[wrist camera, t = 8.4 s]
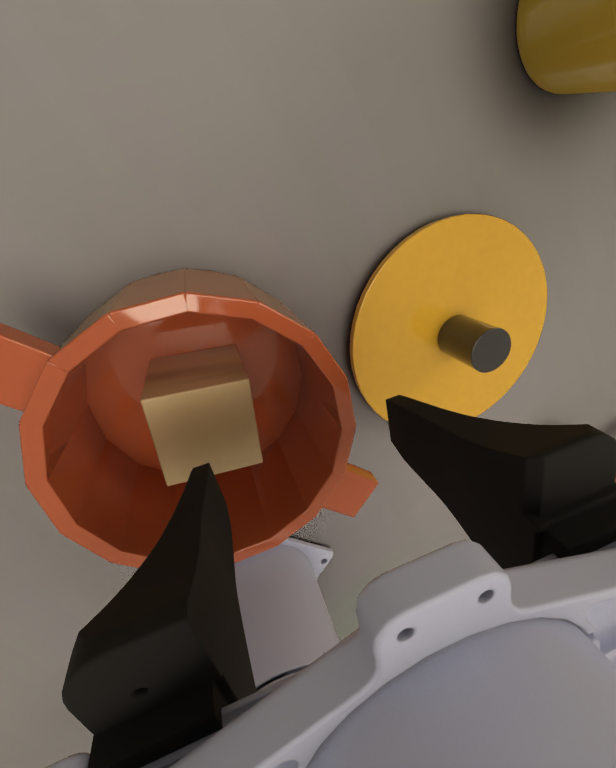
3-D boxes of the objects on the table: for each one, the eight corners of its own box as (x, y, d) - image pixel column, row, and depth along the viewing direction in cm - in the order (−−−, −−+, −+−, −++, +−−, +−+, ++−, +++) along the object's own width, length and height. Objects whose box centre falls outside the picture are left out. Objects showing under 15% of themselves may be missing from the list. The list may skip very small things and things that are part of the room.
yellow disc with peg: (450, 449, 29) (489, 484, 25) (303, 376, 23) (326, 407, 19) (568, 290, 26) (632, 302, 22) (437, 159, 20) (495, 146, 16)
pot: (279, 510, 27) (308, 599, 20) (-28, 419, 19) (-132, 519, 13) (379, 358, 24) (446, 407, 18) (73, 178, 16) (5, 156, 10)
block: (247, 414, 22) (263, 463, 18) (170, 431, 21) (167, 487, 17) (235, 343, 20) (249, 379, 16) (149, 359, 19) (139, 400, 15)
